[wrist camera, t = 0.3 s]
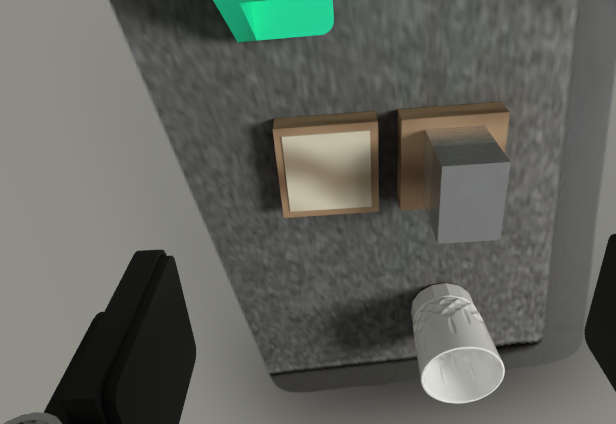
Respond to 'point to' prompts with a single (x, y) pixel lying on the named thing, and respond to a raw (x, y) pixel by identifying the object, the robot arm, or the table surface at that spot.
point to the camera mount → (276, 18)
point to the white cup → (453, 346)
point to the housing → (464, 184)
